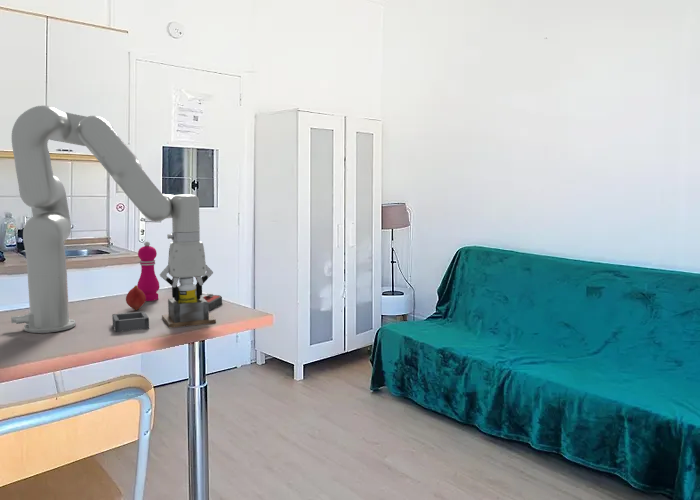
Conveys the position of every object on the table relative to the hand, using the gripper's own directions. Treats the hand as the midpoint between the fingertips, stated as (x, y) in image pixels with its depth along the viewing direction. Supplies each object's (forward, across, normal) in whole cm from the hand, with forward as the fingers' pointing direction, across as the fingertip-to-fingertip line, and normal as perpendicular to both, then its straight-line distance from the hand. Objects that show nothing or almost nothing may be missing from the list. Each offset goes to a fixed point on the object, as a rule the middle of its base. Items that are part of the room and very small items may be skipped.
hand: (187, 298), depth 167 cm
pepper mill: (+7, -6, +35) cm, 36 cm away
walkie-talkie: (+7, +7, +14) cm, 18 cm away
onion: (+7, -12, +20) cm, 24 cm away
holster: (+7, -16, 0) cm, 17 cm away
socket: (+7, 0, 0) cm, 7 cm away
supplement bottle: (+4, 0, 0) cm, 4 cm away
